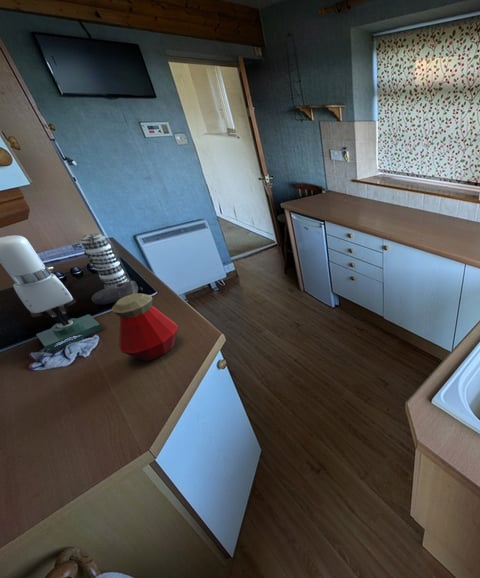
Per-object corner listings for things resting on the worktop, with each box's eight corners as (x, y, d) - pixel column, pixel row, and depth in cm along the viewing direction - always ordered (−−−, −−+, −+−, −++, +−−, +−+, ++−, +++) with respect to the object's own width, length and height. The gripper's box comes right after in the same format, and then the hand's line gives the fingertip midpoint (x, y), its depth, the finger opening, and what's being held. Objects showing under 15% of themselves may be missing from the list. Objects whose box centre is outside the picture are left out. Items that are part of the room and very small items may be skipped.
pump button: (62, 333, 98) (58, 328, 97) (58, 329, 100) (55, 324, 99) (77, 327, 101) (74, 322, 100) (73, 323, 103) (70, 318, 102)
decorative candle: (117, 296, 123) (86, 240, 111) (101, 293, 126) (69, 238, 113) (138, 286, 131) (111, 232, 118) (123, 283, 133) (95, 230, 120)
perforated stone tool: (95, 309, 115) (86, 294, 111) (96, 304, 118) (87, 289, 115) (141, 297, 123) (134, 282, 119) (141, 292, 126) (134, 278, 123)
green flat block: (49, 352, 94) (40, 341, 92) (40, 339, 99) (32, 329, 97) (103, 329, 104) (96, 319, 102) (92, 319, 109) (86, 309, 107)
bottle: (169, 330, 103) (145, 281, 93) (193, 341, 98) (171, 290, 88) (118, 359, 91) (84, 306, 81) (143, 373, 86) (110, 318, 76)
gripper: (60, 264, 97) (89, 309, 106) (-8, 282, 86) (31, 331, 96) (67, 269, 93) (96, 316, 103) (-3, 289, 83) (37, 339, 92)
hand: (65, 323), depth 99 cm, fingers closed
